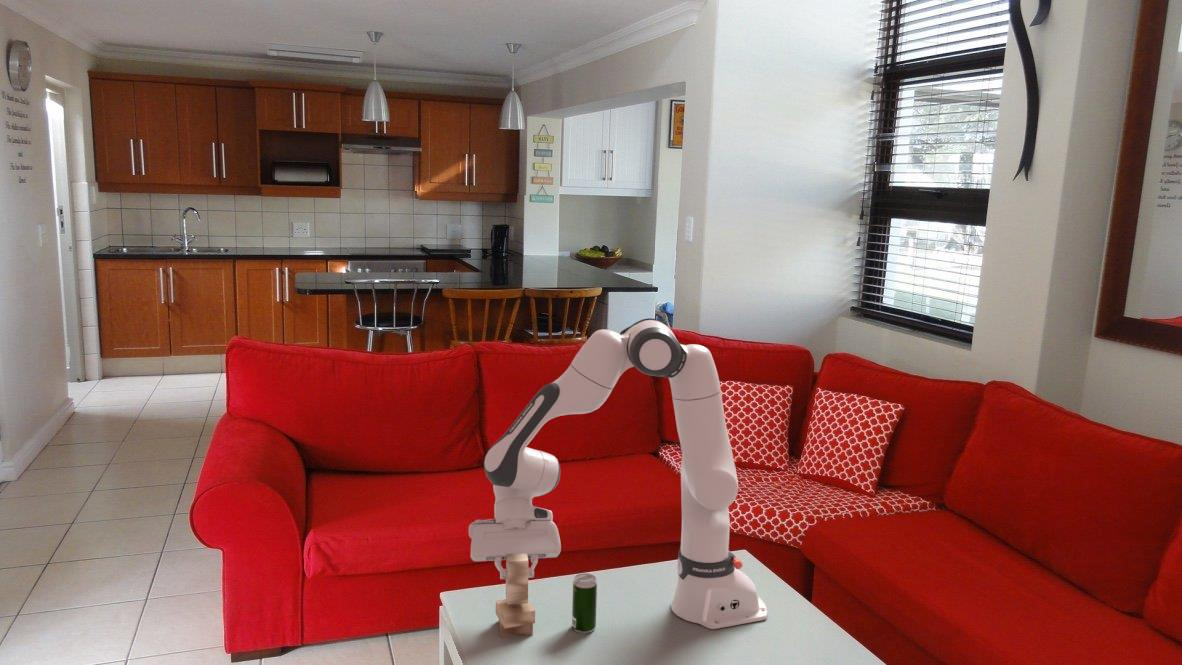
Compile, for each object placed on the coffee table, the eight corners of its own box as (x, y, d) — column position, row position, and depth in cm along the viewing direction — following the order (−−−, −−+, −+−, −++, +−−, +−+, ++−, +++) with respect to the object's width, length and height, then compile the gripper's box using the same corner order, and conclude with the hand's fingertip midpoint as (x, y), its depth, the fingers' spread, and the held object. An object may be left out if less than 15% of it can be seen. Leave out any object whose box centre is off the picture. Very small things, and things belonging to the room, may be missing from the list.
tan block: (525, 593, 189) (526, 551, 187) (527, 603, 185) (528, 560, 183) (505, 594, 188) (506, 552, 187) (507, 604, 184) (507, 561, 182)
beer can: (580, 636, 185) (581, 586, 183) (567, 626, 189) (568, 576, 187) (600, 630, 188) (601, 580, 186) (587, 619, 192) (588, 570, 190)
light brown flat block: (529, 620, 192) (529, 608, 191) (532, 636, 185) (532, 624, 185) (498, 622, 191) (498, 610, 190) (500, 638, 184) (500, 626, 183)
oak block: (525, 608, 191) (525, 596, 191) (534, 623, 185) (535, 610, 184) (495, 613, 189) (495, 600, 188) (504, 628, 182) (504, 615, 182)
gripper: (468, 514, 188) (470, 575, 181) (558, 511, 192) (564, 570, 184) (468, 525, 194) (469, 585, 186) (555, 521, 197) (560, 579, 189)
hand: (517, 577), depth 185 cm, fingers closed on tan block, 4 cm apart
